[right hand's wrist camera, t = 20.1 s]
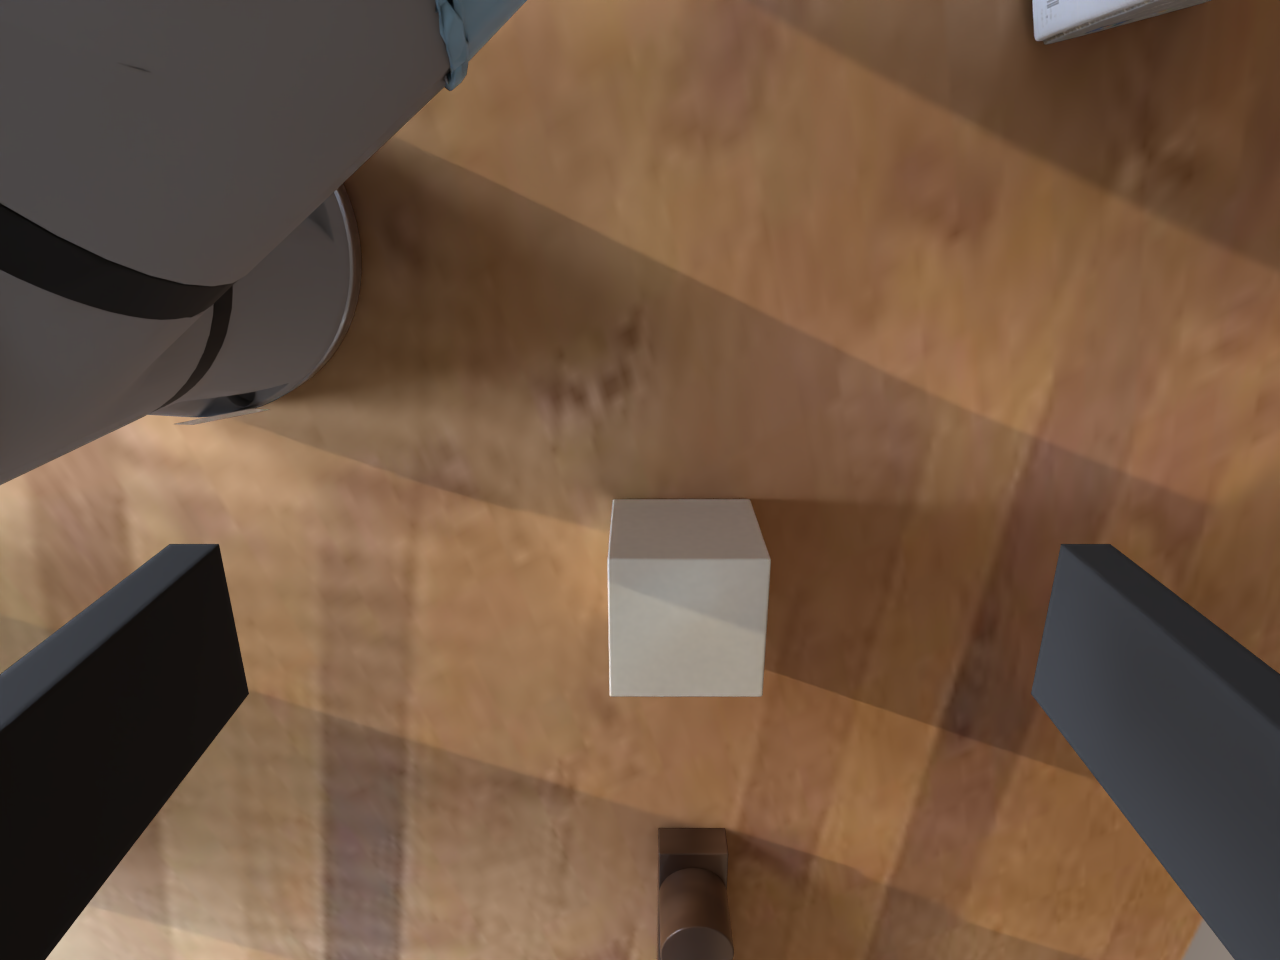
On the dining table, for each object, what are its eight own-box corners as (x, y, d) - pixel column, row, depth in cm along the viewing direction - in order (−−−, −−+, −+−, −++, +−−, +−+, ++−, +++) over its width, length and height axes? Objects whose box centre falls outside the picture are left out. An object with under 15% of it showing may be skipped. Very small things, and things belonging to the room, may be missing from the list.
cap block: (614, 619, 43) (609, 697, 37) (612, 498, 41) (607, 559, 34) (744, 619, 43) (762, 697, 37) (750, 498, 41) (771, 559, 34)
